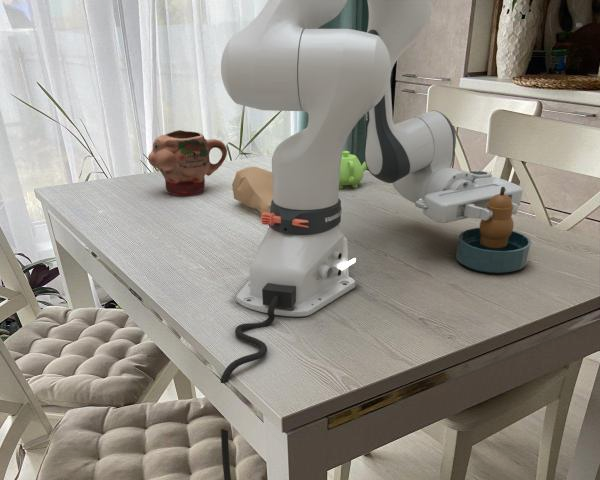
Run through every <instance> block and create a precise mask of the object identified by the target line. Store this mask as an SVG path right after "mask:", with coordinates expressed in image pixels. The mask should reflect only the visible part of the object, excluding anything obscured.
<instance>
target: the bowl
mask: <svg viewBox="0 0 600 480" xmlns="http://www.w3.org/2000/svg"><path fill="white" fill-rule="evenodd" d="M480 238H481V233H480V227H474V228H470V229H466V230H463V231H462V232H460V234H459V235H458V239H457V246H456V253H455V257H456V261H458V262H459V263H460V264H461V265H463V266H465V267H466V268H468V269H471V270H473V271H476V272H480V273H485V274H507V273H513V272H515V271H519V270H522V269H523V268H525V267H526V266H527V264H528V261H529V256H530V252H531V247H532V240H531V238H529V237H528V236H527V235H525V234H523V233H521V232H519V231H517V230H513V231H512V233H511V235H510V236H509V238H508V244H507V246H505V247H502V248H490V247H486V246H483V245H482V244H480Z"/></svg>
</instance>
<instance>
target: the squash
mask: <svg viewBox="0 0 600 480" xmlns="http://www.w3.org/2000/svg"><path fill="white" fill-rule="evenodd" d="M231 186H232V192H233V194H232V195H233V199H234V200H236V201H238V202H240V203H241V204H243V205H245V206H246V207H248V208H251V209H254V210H256V211H258V212H259V213H260V216H262V213H263V212H268V213H269V209H270V207H271V201H272V200H273V179H272V171H269V170H267V169H264V168H260V167H259V166H249V167H248V166H247V167H244V168H242V169H239V170H237V171H236V173H235V176H234V178H233V181H232V184H231Z"/></svg>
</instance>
